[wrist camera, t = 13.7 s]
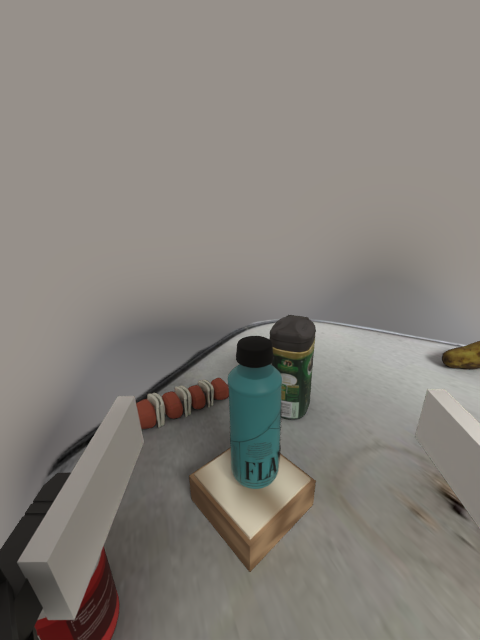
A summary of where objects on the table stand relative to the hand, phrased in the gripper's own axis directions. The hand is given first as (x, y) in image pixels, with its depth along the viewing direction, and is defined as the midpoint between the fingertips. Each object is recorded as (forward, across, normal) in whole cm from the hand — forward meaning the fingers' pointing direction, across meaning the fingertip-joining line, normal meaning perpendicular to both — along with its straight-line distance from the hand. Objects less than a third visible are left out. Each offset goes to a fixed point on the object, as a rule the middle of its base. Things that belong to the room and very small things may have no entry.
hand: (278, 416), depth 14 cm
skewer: (+38, -14, -31) cm, 51 cm away
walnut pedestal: (+18, -1, -30) cm, 35 cm away
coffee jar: (+38, +7, -31) cm, 50 cm away
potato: (+52, +53, -32) cm, 81 cm away
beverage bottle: (+18, -1, -26) cm, 31 cm away
